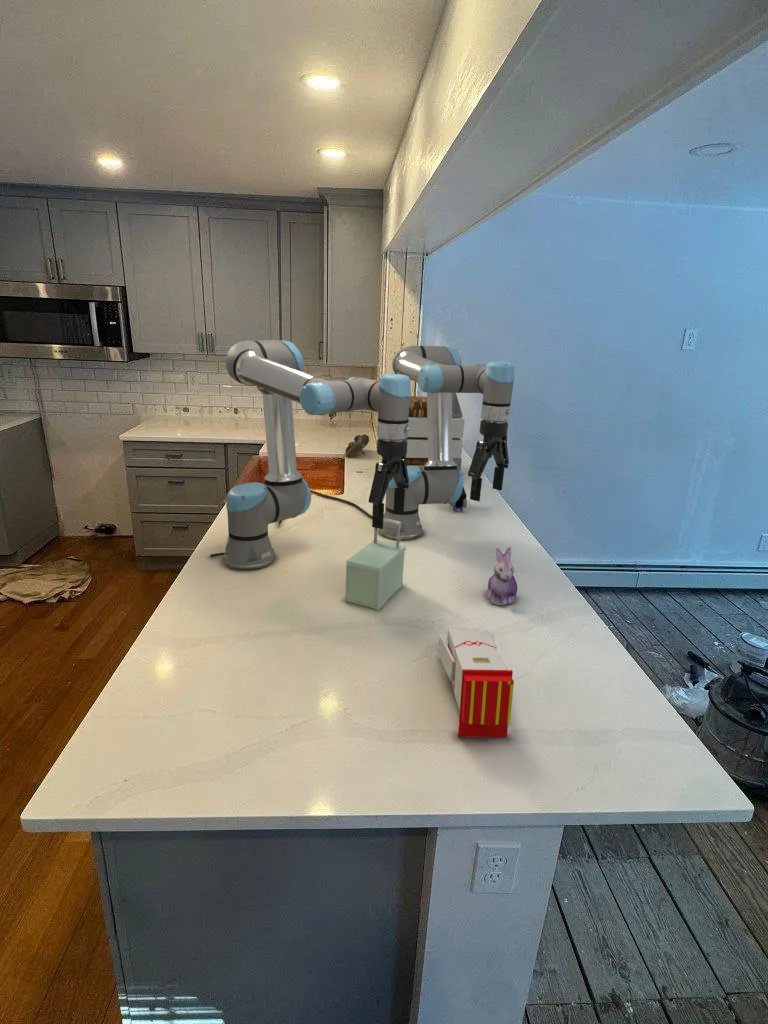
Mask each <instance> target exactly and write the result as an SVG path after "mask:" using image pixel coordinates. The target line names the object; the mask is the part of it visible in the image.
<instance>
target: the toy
mask: <svg viewBox="0 0 768 1024" xmlns="http://www.w3.org/2000/svg"><path fill="white" fill-rule="evenodd" d="M446 640H447V643H446V641H445V639H444V636H443V635H442V634H439V637H438V646H437V656H438V657H439V659H440V661H441V663H442V666H443V668H444V670H445V672H446V674H447V677H448V679H449V681H450V684H451V687H452V690H453V693H454V697H455V701H456V705H457V708H458V711H459V714H458V715H459V716H458V730H457V731H458V732H457V737H458V738H508V731H509V726H510V725H511V717H512V707H513V697H514V696H513V695H514V684H515V680H514V679H513V673H514V671H513V670H512V669H508V667H507V665H506V662H505V661H504V659H503V658H502V655H501V653H500V651H499V649H498V647H497V643H496V639H495V637H494V635H493V634H491V632H490V631H489V629H467V628H466V629H465V628H463V629H461V628H460V629H459V628H448V630H447V639H446Z"/></svg>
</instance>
